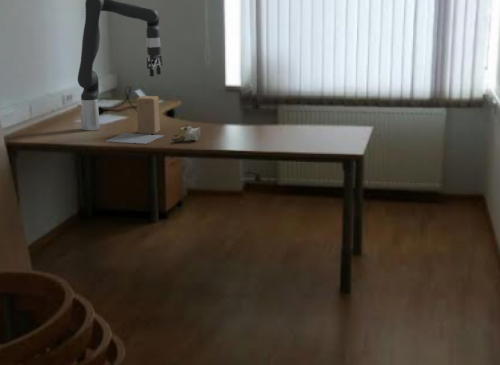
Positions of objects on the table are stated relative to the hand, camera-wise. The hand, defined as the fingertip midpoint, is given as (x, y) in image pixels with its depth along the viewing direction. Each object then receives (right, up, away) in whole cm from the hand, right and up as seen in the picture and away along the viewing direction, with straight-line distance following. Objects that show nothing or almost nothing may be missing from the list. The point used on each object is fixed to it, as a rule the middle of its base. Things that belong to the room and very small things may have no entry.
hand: (155, 75), depth 437 cm
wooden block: (-3, -33, -3) cm, 33 cm away
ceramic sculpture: (+20, -38, -25) cm, 49 cm away
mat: (-9, -36, -18) cm, 42 cm away
